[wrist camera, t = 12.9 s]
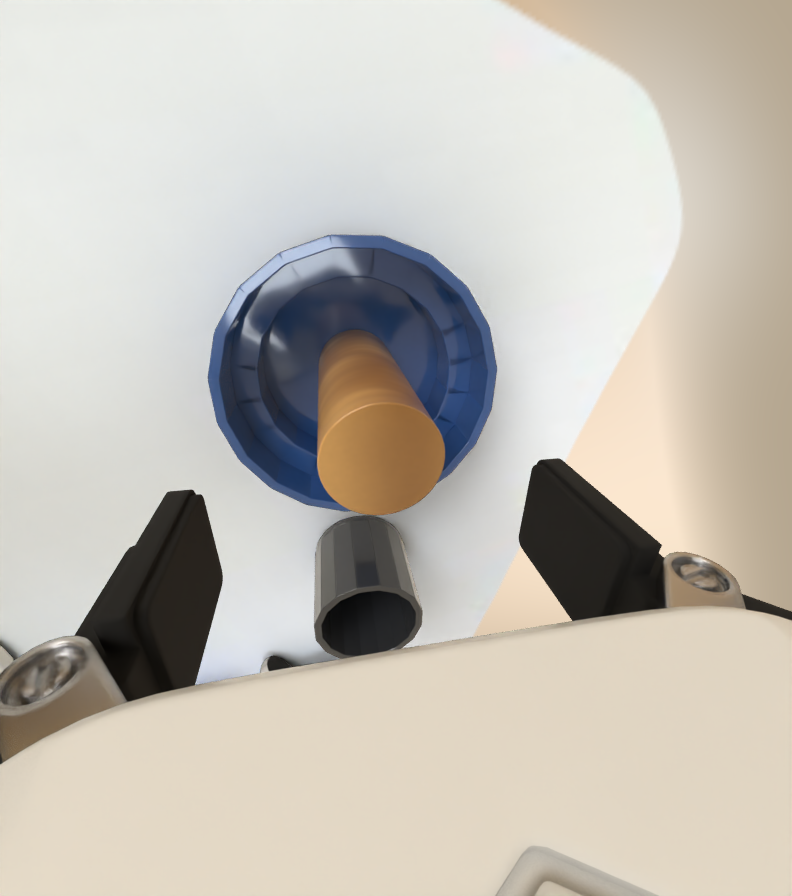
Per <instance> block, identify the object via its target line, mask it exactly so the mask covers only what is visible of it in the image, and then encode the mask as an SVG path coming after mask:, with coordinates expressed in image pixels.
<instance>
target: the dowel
mask: <svg viewBox="0 0 792 896" xmlns="http://www.w3.org/2000/svg"><path fill="white" fill-rule="evenodd" d="M444 461H445V446H444V442H443V438H442V435H441V433H440V431H439V429H438V428H437V426H436V425H435V423H434V421H433V420H432V418H431V417H430V415H429V414H428V412H427V410H426V409H425V407H424V406H423V404H422V402H421V401H420V399H419V398H418V396H417V395H416V393H415V391H414V390H413V388H412V387H411V385H410V384H409V382H408V380H407V379H406V377H405V376H404V374H403V373H402V371H401V369H400V368H399V366H398V365H397V363H396V362H395V360H394V358H393V357H392V355H391V354H390V352H389V350H388V349H387V347H386V346H385V344H384V343H383V342H382V341H381V340H380V339H379V338H378V337H377V336H375V335H374V334H372V333H370V332H367V331H364V330H355V329H354V330H347V331H343V332H340V333H338V334H336V335H335V336H333V337H332V338H331V339H330V340H329V341H328V342H327V343H326V344H325V346H324V347H323V349H322V351H321V354H320V357H319V373H318V440H317V468H318V474H319V477H320V480H321V483H322V485H323V487H324V488H325V490H326V491H327V493H328V494H329V495H330V496H331V497H332V498H333V499H334V500H335V501H336V502H338V503H339V504H340V505H342V506H344V507H345V508H347V509H349V510H352V511H354V512H358V513H361V514H367V515H386V514H392V513H396V512H399V511H402V510H405V509H407V508H409V507H411V506H413V505H414V504H416V503H418V502H419V501H420V500H422V499H423V498H424V497H425V496H426V495H427V494H428V493H429V492H430V491H431V490H432V489H433V487H434V486H435V485H436V483H437V481H438V480H439V478H440V475H441V473H442V470H443V467H444Z"/></svg>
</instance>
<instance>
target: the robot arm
mask: <svg viewBox="0 0 792 896" xmlns="http://www.w3.org/2000/svg"><path fill="white" fill-rule="evenodd" d="M519 542H520V545H521V547H522V549H523V550H524V552H525V553H526V555H527V556H528V558H529V559H530V561H531V562H532V563H533V565H534V566H535V568H536V569H537V570H538V572H539V573H540V575H541V576H542V578H543V579H544V580H545V582H546V583H547V585H548V586H549V588H550V589H551V590H552V592H553V593H554V595H555V596H556V598H557V599H558V601H559V602H560V604H561V605H562V606H563V608H564V609H565V611H566V612H567V614H568V615H569V616H570V618H571V619H572V621H571V622H565V623H558V624H552V625H545V626H539V627H533V628H526V629H520V630H514V631H508V632H501V633H496V634H489V635H483V636H477V637H470V638H464V639H458V640H452V641H446V642H440V643H434V644H428V645H422V646H416V647H410V648H404V649H397V650H391V651H385V652H379V653H374V654H368V655H362V656H356V657H350V658H344V659H338V660H332V661H327V662H321V663H315V664H309V665H303V666H297V667H291V668H285V669H280V670H274V671H268V672H263V673H258V674H252V675H247V676H242V677H236V678H231V679H225V680H220V681H215V682H209V683H204V684H199V685H195V683H196V679H197V675H198V672H199V668H200V664H201V661H202V657H203V653H204V649H205V646H206V642H207V638H208V635H209V631H210V627H211V624H212V620H213V616H214V613H215V609H216V605H217V602H218V598H219V594H220V590H221V587H222V581H223V575H222V569H221V565H220V561H219V557H218V553H217V549H216V545H215V541H214V537H213V533H212V529H211V525H210V521H209V517H208V513H207V509H206V505H205V501H204V498H203V496H202V495H201V494H200V495H196V494H195V492H194V491H193V490H182V491H170V492H167V494H166V495H165V497H164V498H163V500H162V502H161V503H160V505H159V507H158V508H157V510H156V512H155V513H154V515H153V517H152V518H151V520H150V522H149V523H148V525H147V527H146V528H145V530H144V532H143V533H142V535H141V537H140V538H139V540H138V542H137V543H136V545H135V546H133V547H131V548H129V549H128V550H127V552H126V553H125V555H124V556H123V558H122V559H121V561H120V563H119V564H118V566H117V568H116V569H115V571H114V572H113V574H112V576H111V577H110V579H109V581H108V582H107V584H106V585H105V587H104V589H103V590H102V592H101V593H100V595H99V597H98V598H97V600H96V602H95V603H94V605H93V606H92V608H91V610H90V611H89V613H88V615H87V616H86V618H85V619H84V621H83V623H82V624H81V626H80V628H79V629H78V631H77V632H76V634H75V636H64V637H60V638H57V639H53V640H50V641H47V642H45V643H43V644H41V645H38V646H36V647H34V648H32V649H31V650H29V651H28V652H26V653H24V654H23V655H21V656H20V657H18V658H17V659H16V660H14V659H13V658H12V656H11V655H10V654H9V653H8V652H7V651H6V650H5V649H4V648H3V647H2V646H0V896H792V612H791V611H788V610H785V609H782V608H780V607H776V606H774V605H771V604H768V603H766V602H763V601H760V600H757V599H754V598H752V597H749V596H746V595H743V594H742V593H741V590H740V586H739V584H738V582H737V580H736V579H735V578H734V576H733V575H732V574H731V573H729V571H727V570H726V569H724V568H723V567H722V566H720V565H719V564H717V563H715V562H713V561H711V560H709V559H707V558H705V557H701V556H699V555H695V554H691V553H687V552H674V553H670V554H668V555H667V556H666V557H665V558H664V557H662V556H661V555H660V554H659V550H660V548H661V546H662V545H661V544H660V543H659V542H658V541H657V540H655V539H654V538H653V537H652V536H651V535H649V534H648V533H647V532H646V531H645V530H644V529H642V528H641V527H640V526H639V525H638V524H637V523H635V522H634V521H633V520H632V519H631V518H629V517H628V516H627V515H626V514H625V513H623V512H622V511H621V510H620V509H619V508H617V506H615V505H614V504H613V503H612V502H610V501H609V500H608V499H607V498H606V497H605V496H604V495H602V494H601V493H600V492H599V491H598V490H596V489H595V488H594V487H593V486H592V485H591V484H589V483H588V482H587V481H586V480H585V479H583V478H582V477H581V476H580V475H579V474H578V473H576V472H575V471H574V470H573V469H572V468H571V467H569V466H568V465H567V464H566V463H565V462H564V461H562V460H561V459H546V460H540V461H539V462H538V463H537V465H535V466H533V468H532V471H531V476H530V481H529V486H528V492H527V497H526V502H525V507H524V512H523V517H522V522H521V527H520V533H519Z"/></svg>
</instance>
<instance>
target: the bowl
mask: <svg viewBox="0 0 792 896" xmlns="http://www.w3.org/2000/svg"><path fill="white" fill-rule="evenodd" d="M354 329H355V330H364V331H367V332H370V333H372V334H374V335H375V336H377V337H378V338H379V339H380V340H381V341H382V342H383V343H384V344H385V346H386V347H387V349H388V350H389V352H390V354H391V355H392V357H393V358H394V360H395V362H396V363H397V365H398V366H399V368H400V369H401V371H402V373H403V374H404V376H405V377H406V379H407V380H408V382H409V384H410V385H411V387H412V388H413V390H414V391H415V393H416V395H417V396H418V398H419V399H420V401H421V402H422V404H423V406H424V407H425V409H426V410H427V412H428V414H429V415H430V417H431V418H432V420H433V421H434V423H435V425H436V426H437V428H438V429H439V431H440V433H441V435H442V438H443V442H444V446H445V461H444V467H443V470H442V473H441V475H440V478H439V480H438V481H437V483H438V482H439V481H441V480H442V479H444V478H445V477H447V476H448V475H449V474H450V473H452V471H453V470H454V469H455V468H456V467H457V466H458V464H459V463H460V462H461V461H462V460H463V459H464V457H465V456H466V455H467V454H468V453H469V452H470V450H471V449H472V448H473V447H474V446H475V444H476V442H477V440H478V438H479V436H480V434H481V431H482V429H483V427H484V425H485V423H486V420H487V418H488V416H489V414H490V412H491V409H492V402H493V395H494V388H495V380H496V373H497V365H496V360H495V354H494V349H493V343H492V337H491V332H490V327H489V325H488V323H487V321H486V319H485V317H484V316H483V314H482V312H481V310H480V308H479V306H478V305H477V303H476V301H475V299H474V297H473V296H472V294H471V292H470V290H469V288H468V287H467V286H466V285H465V284H464V283H463V282H462V281H461V280H459V279H458V278H457V277H456V276H455V275H454V274H453V273H452V272H450V271H449V270H448V269H447V268H446V267H445V266H444V265H442V264H441V263H440V262H439V261H438V260H437V259H436V258H435V257H433V256H432V255H430V254H429V253H426V252H424V251H421V250H418V249H416V248H413V247H411V246H408V245H406V244H403V243H401V242H398V241H396V240H393V239H390V238H388V237H385V236H374V235H327V236H324V237H322V238H319V239H316V240H313V241H310V242H307V243H305V244H302V245H299V246H296V247H293V248H290V249H288V250H285V251H282V252H280V253H278V254H277V255H275V256H274V257H273V258H272V259H271V260H270V261H268V262H267V263H266V264H265V265H264V266H262V267H261V268H260V269H259V270H258V271H257V272H255V273H254V274H253V275H252V276H251V277H250V278H248V279H247V280H246V281H245V282H244V283H242V284H241V285H240V286H239V288H238V289H237V291H236V292H235V294H234V296H233V298H232V300H231V301H230V303H229V305H228V307H227V309H226V311H225V312H224V314H223V316H222V318H221V320H220V322H219V323H218V325H217V327H216V329H215V332H214V336H213V343H212V350H211V358H210V365H209V372H208V383H209V388H210V393H211V397H212V402H213V407H214V411H215V416H216V420H217V423H218V426H219V427H220V429H221V431H222V432H223V434H224V436H225V437H226V439H227V441H228V442H229V444H230V446H231V447H232V449H233V451H234V452H235V454H236V456H237V457H238V459H239V460H240V461H241V462H242V463H243V464H244V465H245V466H246V467H247V468H248V469H250V470H251V471H252V472H253V473H254V474H255V475H256V476H258V477H259V478H260V479H261V480H262V481H263V482H264V483H266V484H267V485H268V486H269V487H270V488H272V489H274V490H276V491H278V492H280V493H282V494H285V495H287V496H289V497H291V498H293V499H295V500H297V501H300V502H302V503H304V504H306V505H310V506H316V507H322V508H328V509H334V510H340V511H352V510H349V509H347V508H345V507H344V506H342V505H340V504H339V503H338V502H336V501H335V500H334V499H333V498H332V497H331V496H330V495H329V494H328V493H327V491H326V490H325V488H324V487H323V485H322V483H321V480H320V477H319V474H318V468H317V440H318V373H319V357H320V354H321V351H322V349H323V347H324V346H325V344H326V343H327V342H328V341H329V340H330V339H331V338H332V337H333V336H335V335H336V334H338V333H340V332H343V331H347V330H354Z"/></svg>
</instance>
